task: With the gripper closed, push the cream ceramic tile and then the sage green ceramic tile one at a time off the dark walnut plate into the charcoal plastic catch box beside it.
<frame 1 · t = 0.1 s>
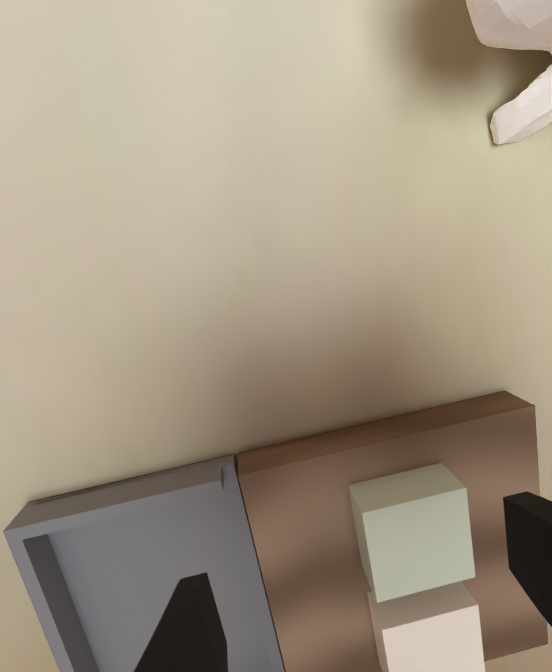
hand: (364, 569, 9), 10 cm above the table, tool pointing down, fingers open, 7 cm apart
catch box: (169, 595, 20), on the table
tile green: (401, 515, 18), point 2 cm above the table, touching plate
white turtle figurine: (540, 33, 17), on the table
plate: (392, 539, 21), on the table
tile cream: (415, 617, 20), point 2 cm above the table, touching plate
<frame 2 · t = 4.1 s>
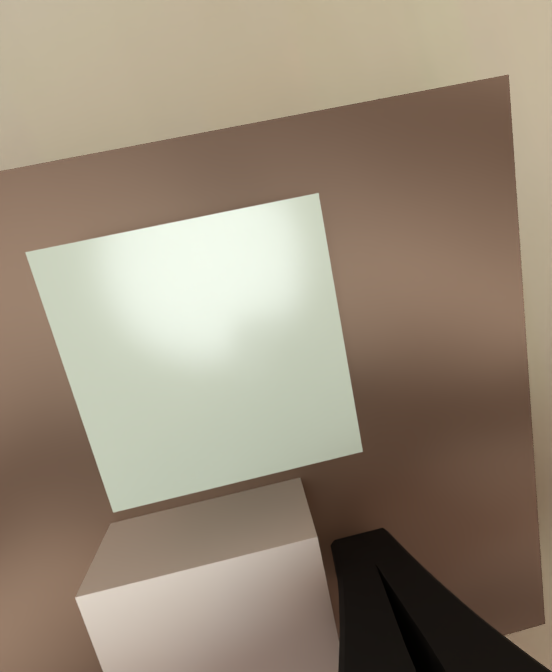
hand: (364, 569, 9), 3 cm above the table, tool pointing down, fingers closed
tile green: (216, 337, 8), point 2 cm above the table, touching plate
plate: (244, 424, 11), on the table
tile cream: (228, 579, 9), point 2 cm above the table, touching gripper, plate
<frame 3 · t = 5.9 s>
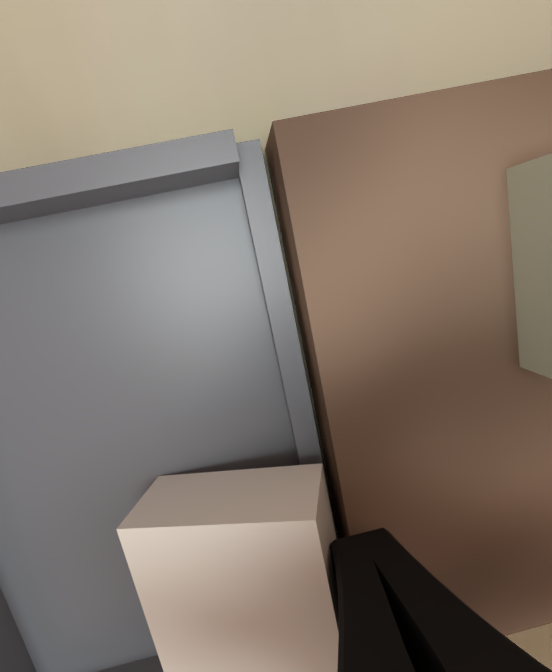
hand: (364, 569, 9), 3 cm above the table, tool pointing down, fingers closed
catch box: (134, 451, 11), on the table
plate: (544, 355, 11), on the table
tile cream: (254, 543, 10), point 1 cm above the table, tilted 16°
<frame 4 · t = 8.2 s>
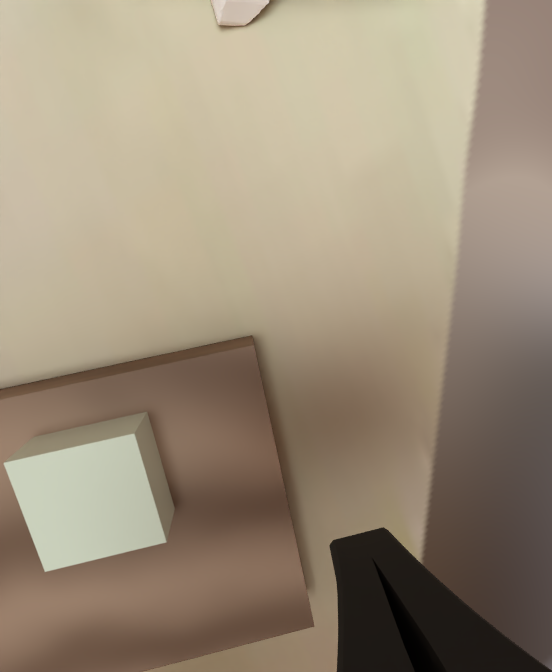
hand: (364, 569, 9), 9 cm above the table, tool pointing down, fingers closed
tile green: (106, 474, 16), point 2 cm above the table, touching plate
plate: (138, 507, 18), on the table
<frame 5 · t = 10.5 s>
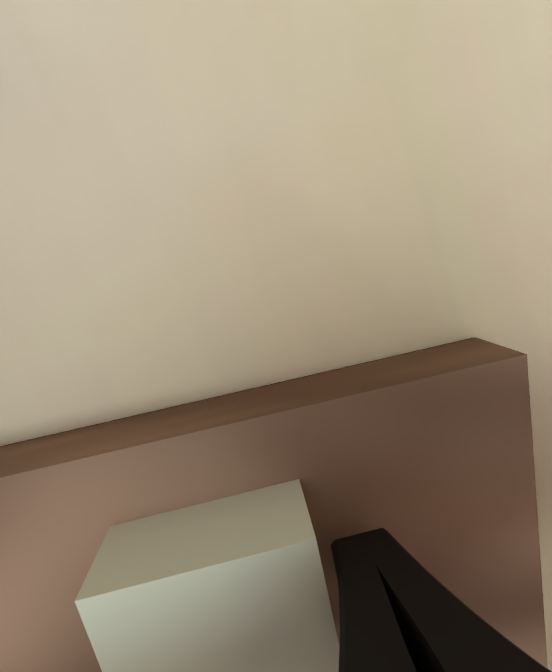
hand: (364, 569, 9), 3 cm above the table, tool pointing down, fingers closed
tile green: (228, 581, 9), point 2 cm above the table, touching gripper, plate
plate: (285, 597, 12), on the table
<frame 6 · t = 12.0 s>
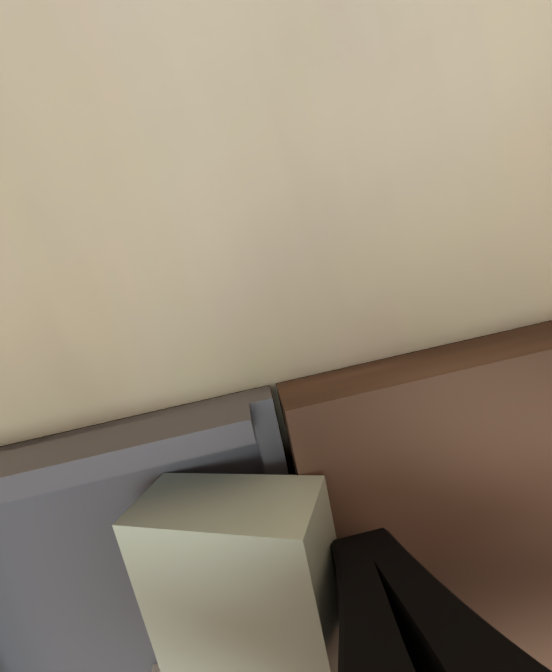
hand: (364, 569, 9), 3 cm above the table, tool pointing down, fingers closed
catch box: (157, 631, 12), on the table
tile green: (255, 549, 10), point 1 cm above the table, tilted 25°, touching gripper
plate: (526, 534, 13), on the table
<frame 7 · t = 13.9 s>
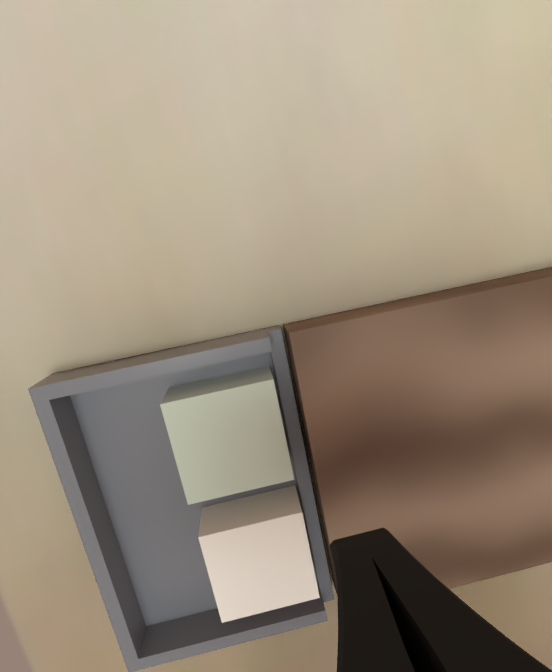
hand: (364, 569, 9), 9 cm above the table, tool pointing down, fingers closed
catch box: (204, 488, 18), on the table
tile green: (230, 422, 17), resting on catch box
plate: (446, 431, 19), on the table
tile cream: (258, 536, 19), resting on catch box
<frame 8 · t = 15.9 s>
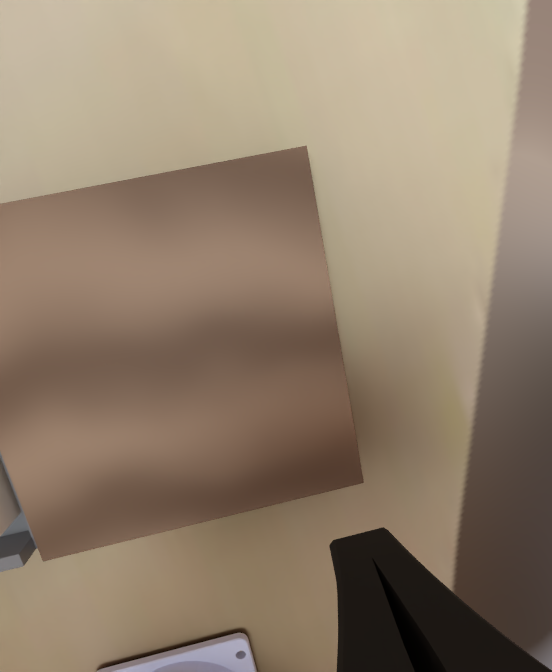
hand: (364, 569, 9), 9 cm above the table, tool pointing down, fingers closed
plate: (173, 355, 17), on the table
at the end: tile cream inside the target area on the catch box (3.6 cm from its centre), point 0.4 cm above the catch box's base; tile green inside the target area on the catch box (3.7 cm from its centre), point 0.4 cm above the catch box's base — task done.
